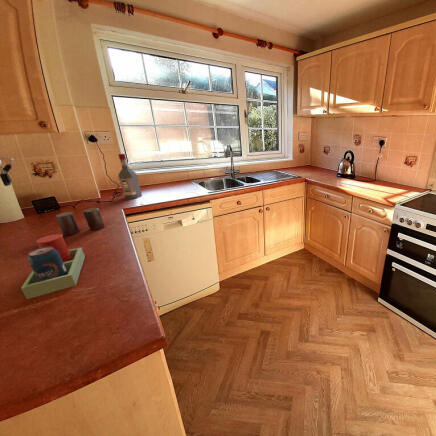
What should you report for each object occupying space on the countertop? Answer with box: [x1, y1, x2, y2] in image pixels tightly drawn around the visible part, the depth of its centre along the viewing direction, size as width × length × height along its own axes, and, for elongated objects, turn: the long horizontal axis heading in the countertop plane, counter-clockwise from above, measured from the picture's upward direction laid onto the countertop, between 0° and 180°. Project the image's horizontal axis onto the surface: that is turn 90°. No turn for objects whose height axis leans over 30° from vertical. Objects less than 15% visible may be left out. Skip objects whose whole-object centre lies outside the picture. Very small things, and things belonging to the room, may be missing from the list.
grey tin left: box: [55, 211, 81, 237], centre depth 116 cm, size 6×6×10 cm
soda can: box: [27, 246, 68, 282], centre depth 78 cm, size 7×7×12 cm
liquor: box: [118, 153, 143, 200], centre depth 168 cm, size 9×9×30 cm
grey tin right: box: [82, 207, 106, 232], centre depth 121 cm, size 6×6×10 cm
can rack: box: [20, 247, 86, 300], centre depth 83 cm, size 12×22×5 cm, turn 32°
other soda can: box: [35, 233, 73, 262], centre depth 86 cm, size 7×7×12 cm
